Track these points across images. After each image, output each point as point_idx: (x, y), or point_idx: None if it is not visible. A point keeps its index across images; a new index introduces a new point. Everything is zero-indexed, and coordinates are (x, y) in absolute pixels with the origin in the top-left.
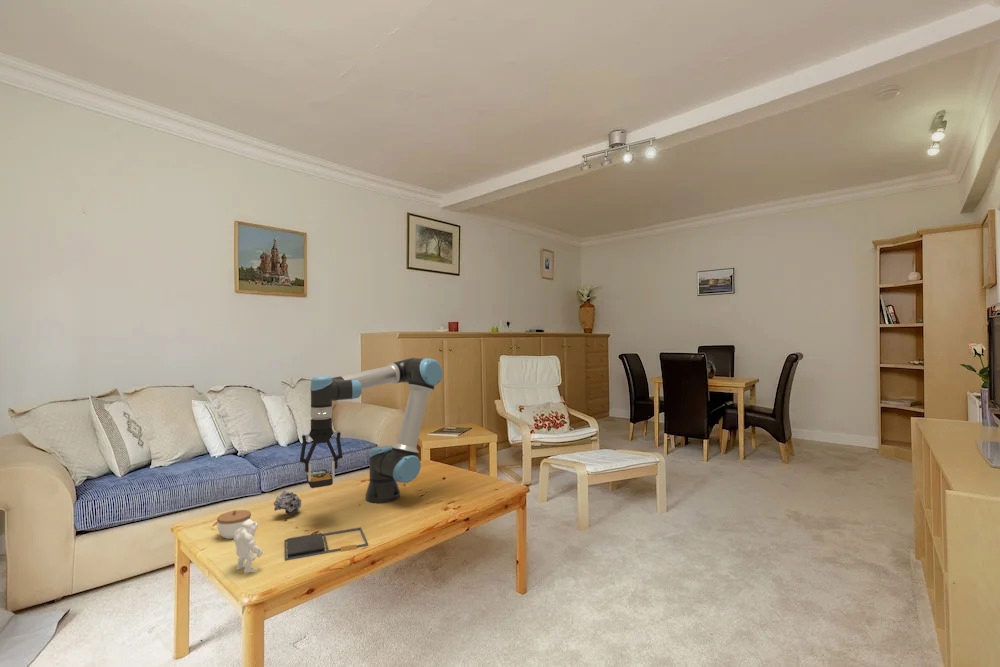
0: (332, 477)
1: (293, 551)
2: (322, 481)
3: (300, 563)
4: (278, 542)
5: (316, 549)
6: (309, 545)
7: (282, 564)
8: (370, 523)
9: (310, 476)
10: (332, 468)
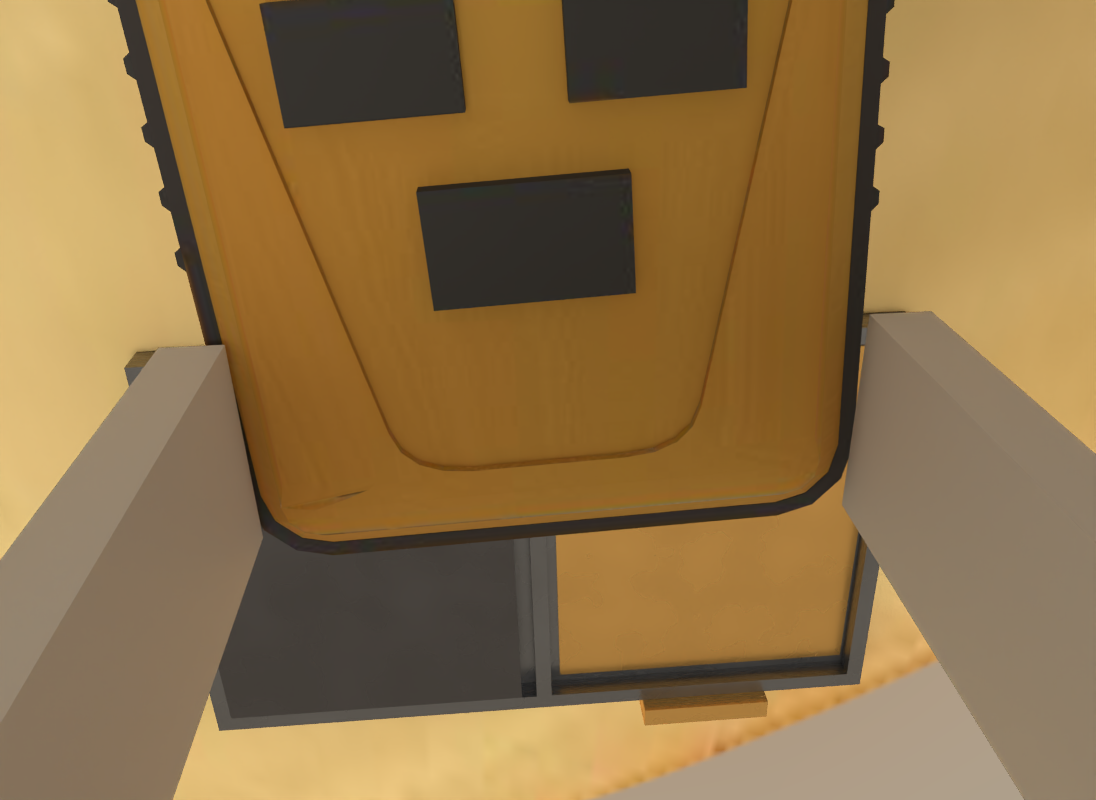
0: (855, 526)
1: (270, 692)
2: (571, 522)
3: (345, 746)
4: (64, 307)
5: (456, 700)
6: (395, 629)
7: (214, 726)
8: (1065, 141)
9: (219, 628)
10: (982, 723)
